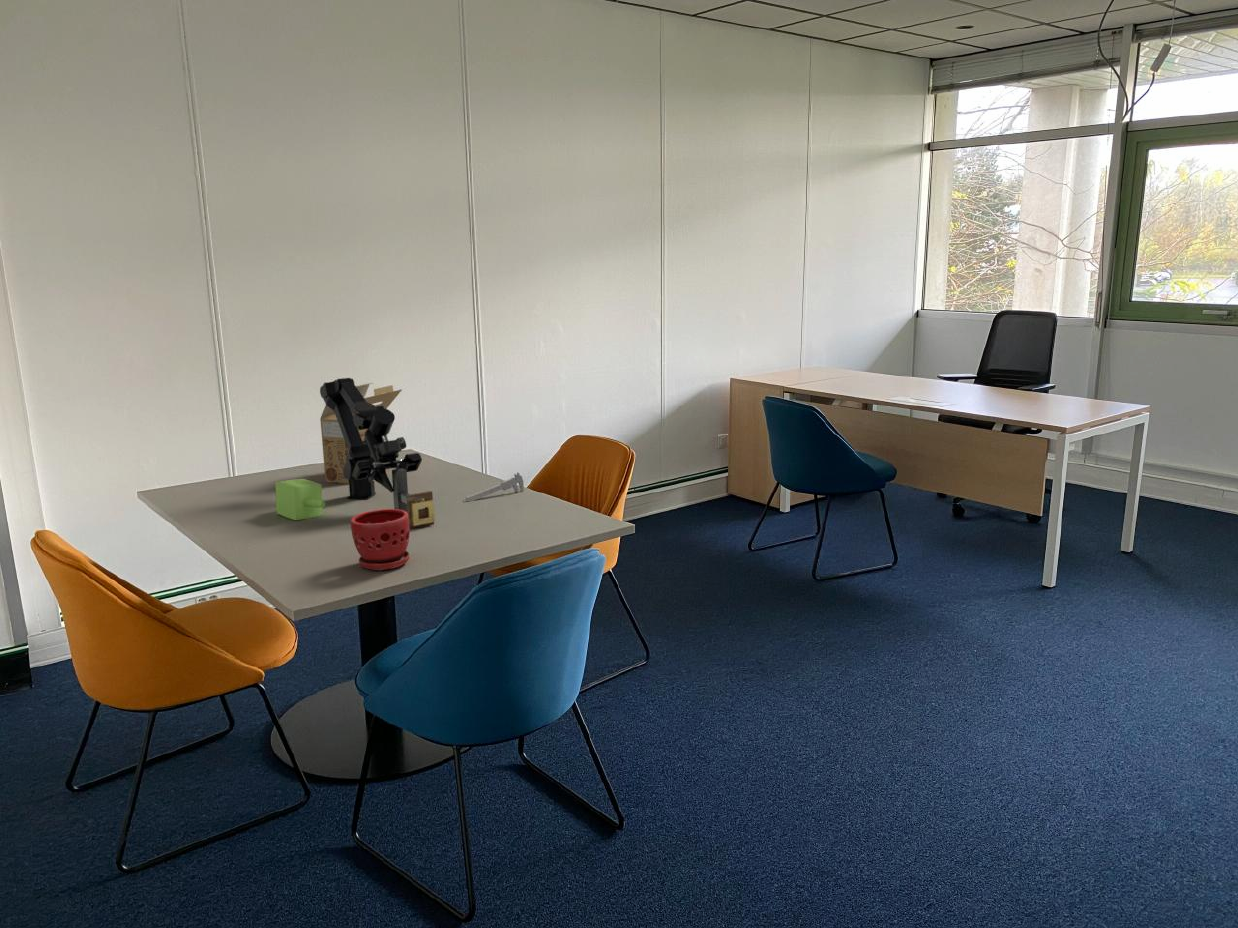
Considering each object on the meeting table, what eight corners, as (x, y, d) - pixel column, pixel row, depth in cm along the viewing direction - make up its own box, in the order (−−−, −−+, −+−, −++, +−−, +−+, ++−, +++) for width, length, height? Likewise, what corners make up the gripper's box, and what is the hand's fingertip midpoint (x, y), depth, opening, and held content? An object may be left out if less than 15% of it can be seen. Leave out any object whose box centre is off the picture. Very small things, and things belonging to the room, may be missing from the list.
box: (371, 485, 295) (364, 391, 288) (319, 481, 302) (312, 389, 295) (407, 471, 314) (402, 383, 307) (358, 467, 321) (352, 381, 314)
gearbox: (336, 518, 260) (335, 485, 258) (304, 524, 252) (303, 490, 251) (303, 506, 271) (302, 474, 270) (271, 511, 264) (270, 479, 262)
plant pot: (393, 552, 227) (390, 504, 224) (422, 564, 218) (419, 515, 215) (344, 564, 218) (340, 515, 216) (371, 577, 209) (367, 526, 206)
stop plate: (404, 525, 250) (402, 493, 248) (428, 521, 254) (426, 489, 252) (410, 528, 247) (407, 495, 245) (434, 523, 251) (432, 491, 249)
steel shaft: (394, 515, 259) (391, 469, 256) (404, 513, 261) (401, 468, 258) (416, 526, 248) (413, 478, 245) (427, 524, 250) (424, 477, 247)
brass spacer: (411, 524, 247) (410, 503, 245) (432, 520, 250) (431, 499, 249) (413, 525, 246) (412, 503, 245) (434, 521, 249) (433, 500, 248)
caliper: (522, 491, 286) (521, 471, 285) (523, 492, 285) (523, 472, 284) (462, 502, 274) (461, 481, 273) (464, 503, 273) (463, 482, 272)
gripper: (353, 432, 253) (372, 479, 247) (417, 424, 264) (436, 469, 258) (345, 456, 261) (363, 502, 255) (407, 447, 272) (426, 491, 266)
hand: (398, 490), depth 258 cm, fingers closed on steel shaft, 3 cm apart
